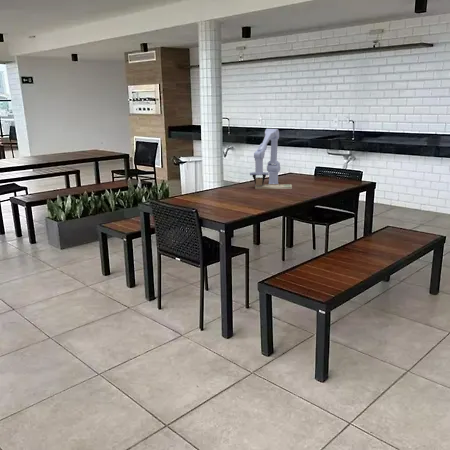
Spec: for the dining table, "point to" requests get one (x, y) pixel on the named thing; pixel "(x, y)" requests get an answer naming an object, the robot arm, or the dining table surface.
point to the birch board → (274, 187)
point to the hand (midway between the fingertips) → (259, 184)
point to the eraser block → (259, 181)
